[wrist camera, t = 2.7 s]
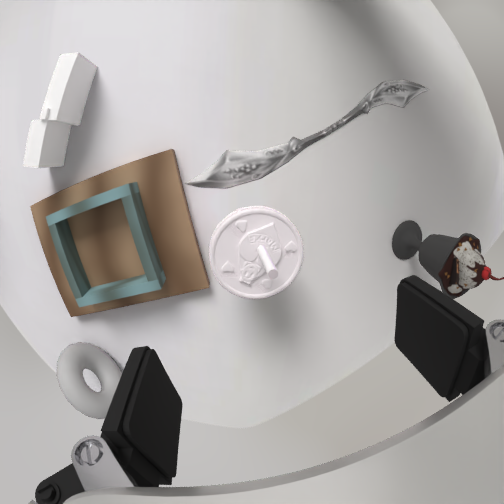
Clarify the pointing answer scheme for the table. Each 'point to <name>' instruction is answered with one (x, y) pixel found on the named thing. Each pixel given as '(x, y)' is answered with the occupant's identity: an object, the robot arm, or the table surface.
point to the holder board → (121, 237)
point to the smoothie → (256, 252)
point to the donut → (75, 385)
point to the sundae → (444, 258)
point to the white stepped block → (59, 111)
